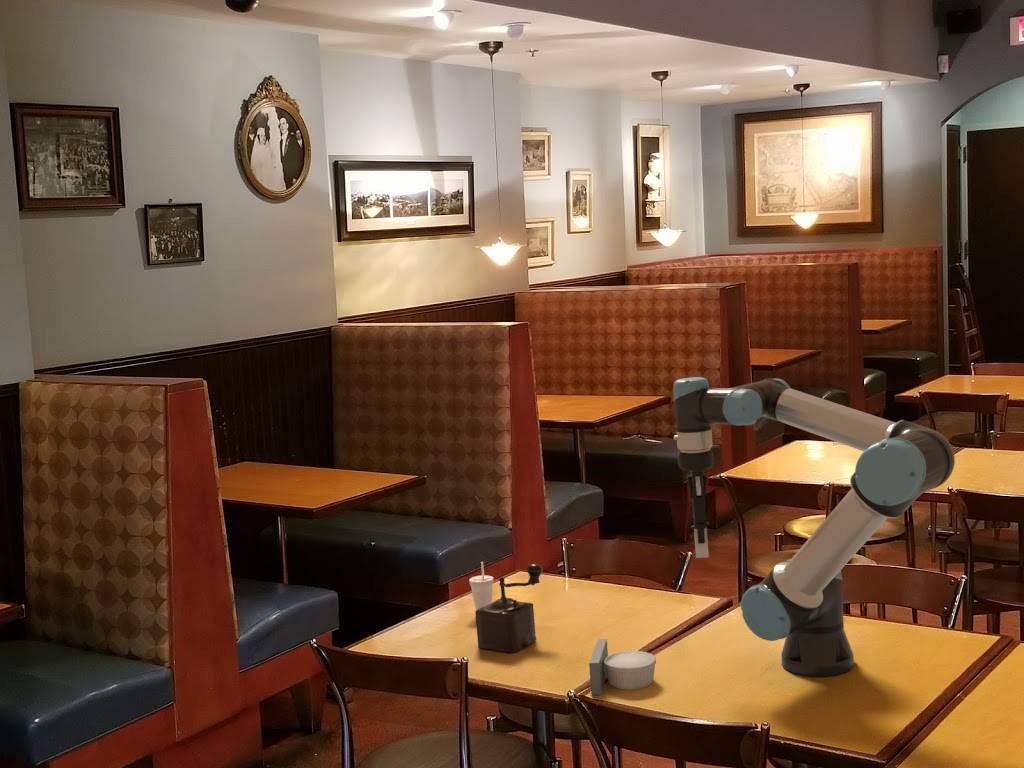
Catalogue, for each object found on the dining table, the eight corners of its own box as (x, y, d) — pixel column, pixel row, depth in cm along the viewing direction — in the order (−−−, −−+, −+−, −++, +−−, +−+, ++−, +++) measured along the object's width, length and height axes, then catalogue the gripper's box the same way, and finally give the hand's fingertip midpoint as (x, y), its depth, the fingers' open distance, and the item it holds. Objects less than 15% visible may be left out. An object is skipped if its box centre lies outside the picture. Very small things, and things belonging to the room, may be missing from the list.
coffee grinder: (515, 654, 284) (509, 579, 282) (476, 648, 290) (470, 575, 288) (551, 634, 297) (545, 562, 294) (513, 629, 303) (508, 558, 301)
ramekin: (607, 673, 268) (605, 650, 267) (658, 672, 266) (656, 649, 265) (602, 692, 257) (601, 668, 256) (655, 692, 255) (654, 667, 254)
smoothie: (496, 617, 313) (491, 564, 311) (471, 619, 313) (466, 566, 311) (496, 610, 319) (492, 558, 318) (472, 612, 319) (468, 559, 318)
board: (608, 669, 269) (606, 639, 269) (600, 695, 255) (598, 663, 254) (599, 669, 270) (597, 639, 269) (591, 695, 255) (589, 663, 254)
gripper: (676, 445, 269) (683, 550, 271) (678, 456, 256) (685, 565, 259) (710, 443, 268) (717, 548, 271) (714, 453, 255) (721, 563, 258)
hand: (702, 556), depth 265 cm, fingers closed
